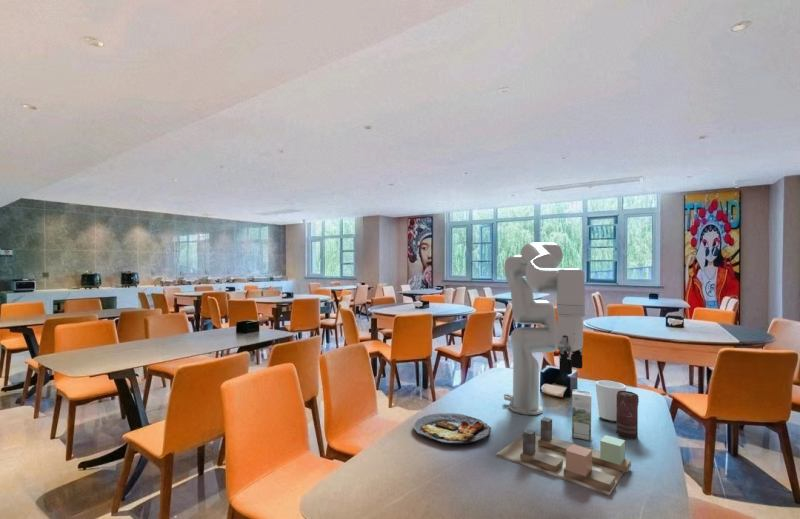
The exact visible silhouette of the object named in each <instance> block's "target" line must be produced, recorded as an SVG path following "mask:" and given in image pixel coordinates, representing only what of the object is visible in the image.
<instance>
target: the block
mask: <svg viewBox="0 0 800 519" xmlns="http://www.w3.org/2000/svg"><path fill="white" fill-rule="evenodd" d="M574 444H575V443H573V444H572V445H571V446H570V447H569V448H568V449H567V450H566V470H568V471H571V472H574V473H577V474H580V475H583V476H587V475H588V473H589V472H590V471H591V470H592V450H591V449H592V448H591V449H587V448H588V447H587V448H584V447H585V446H584V447H580V446H581V445H580V446H577V445H578V444H577V445H574Z"/></svg>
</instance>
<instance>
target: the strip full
mask: <svg viewBox="0 0 800 519" xmlns="http://www.w3.org/2000/svg"><path fill="white" fill-rule="evenodd" d="M540 437H541V438H540V439H539V440H538V445H539V446H543V447H546V448H549V449H552V450H555V451H559V452H562V453H565V454H566V450H567V449H568V448H569V447H570V446H571V445H572V444H574V445H577V446H580V447H584V448H587V449H591V450H592V462H594V463H597V464H600V465H603V466H607V467H610V468H613V469H616V470H619V471H623V472H624V473H628V471H629V470H630V468H631V466H632V460H631V459H627V458H625V459H624V461H623V462H622V464H621V465H618V464H615V463H612V462H608V461H605V460H602V459H600V450H596V449H595V448H590V447H586V446H583V445H580V444H577V443H573V442H569V441H566V440H563V439H559V438H556V437H554V436H553V418H551V417H546V416H544V417H542V418H541V419H540Z"/></svg>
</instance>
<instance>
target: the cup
mask: <svg viewBox="0 0 800 519" xmlns="http://www.w3.org/2000/svg"><path fill="white" fill-rule="evenodd" d="M595 388H596V389H595V390H596V391H595V392H596V400H597V401H596V402H597V411H598V412H597V413H598V416H599V418H600V420H602V421H608V422H609V423H611V422H612V423H615V422H616V412H617V393H618V391H627V386H626V385H625V384H624V383H621V382H618V381H614V380H613V381H612V380H605V379H604V380H602V379H601V380H597V381H596V382H595Z"/></svg>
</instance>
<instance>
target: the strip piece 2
mask: <svg viewBox="0 0 800 519" xmlns="http://www.w3.org/2000/svg"><path fill="white" fill-rule="evenodd" d="M564 476H565V477H568V478H571V479H574V480H577V481H580V482H582V483H585V484H588V485H591V486H594V487H597V488H600V489H603V490H605V491H608V492H610V491H611V489H612V488H613V486H614V485H615V476H612V475H609V474H605V473H602V472H599V471H596V470H593V469H592V470H591V471H590V472H589V473H588V475H587V476H583V475H580V474H577V473H574V472H571V471H568V470H566V467H565V468H564Z"/></svg>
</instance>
